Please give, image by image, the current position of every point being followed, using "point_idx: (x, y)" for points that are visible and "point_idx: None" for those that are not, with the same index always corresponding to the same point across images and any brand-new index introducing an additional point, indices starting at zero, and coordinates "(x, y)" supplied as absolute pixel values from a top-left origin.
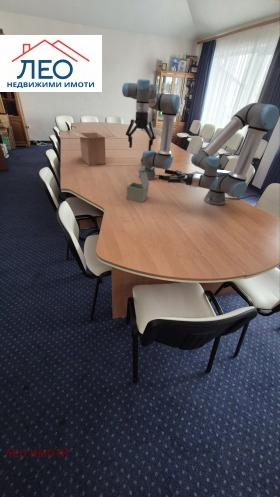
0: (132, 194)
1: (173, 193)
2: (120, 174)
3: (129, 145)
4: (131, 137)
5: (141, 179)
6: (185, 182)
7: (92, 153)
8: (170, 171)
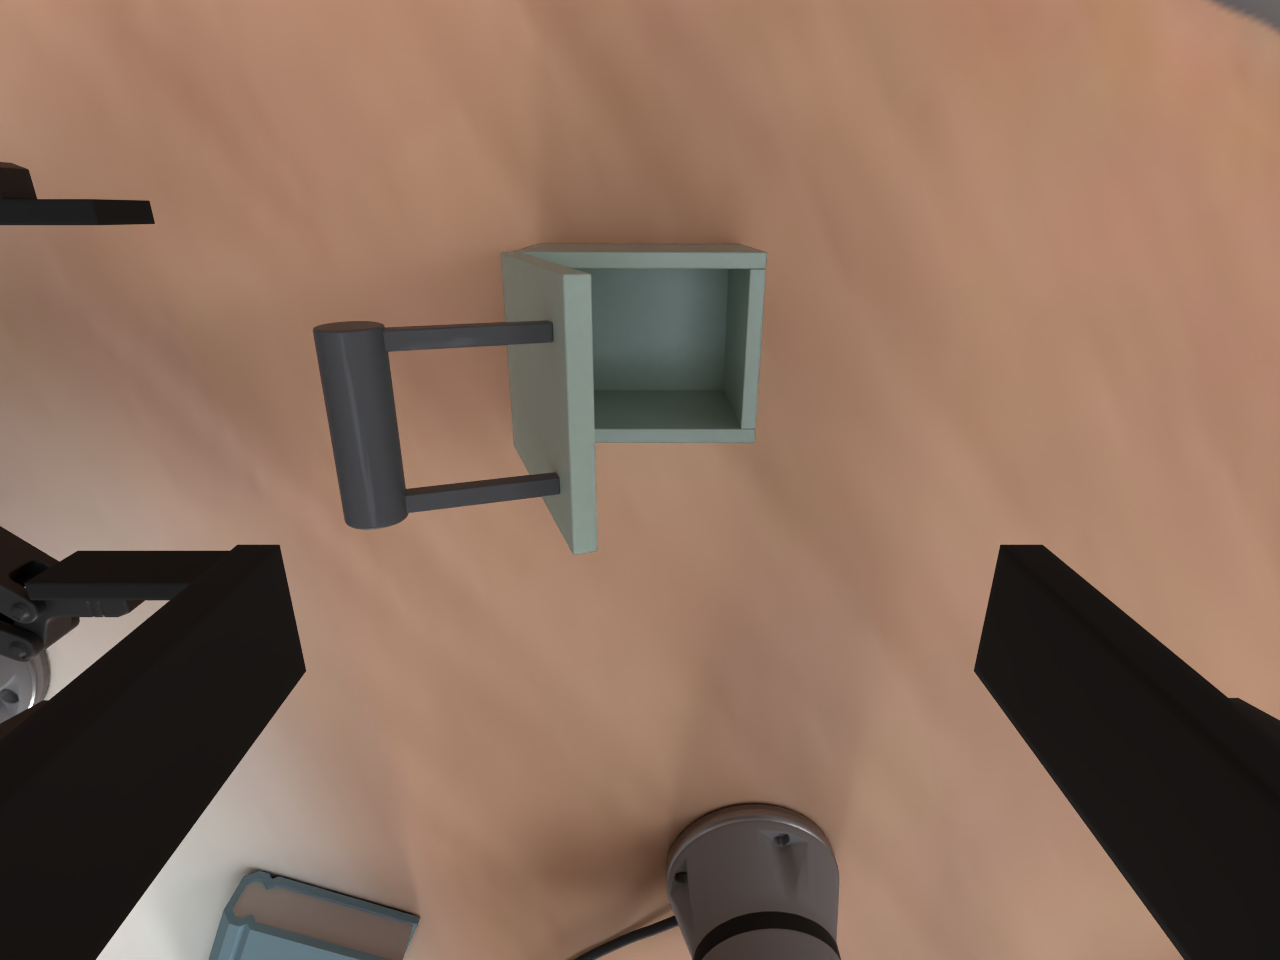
0: (672, 247)
1: (357, 631)
2: (1037, 812)
3: (1084, 584)
4: (1266, 934)
5: (531, 260)
6: (368, 905)
7: None
8: (101, 575)
